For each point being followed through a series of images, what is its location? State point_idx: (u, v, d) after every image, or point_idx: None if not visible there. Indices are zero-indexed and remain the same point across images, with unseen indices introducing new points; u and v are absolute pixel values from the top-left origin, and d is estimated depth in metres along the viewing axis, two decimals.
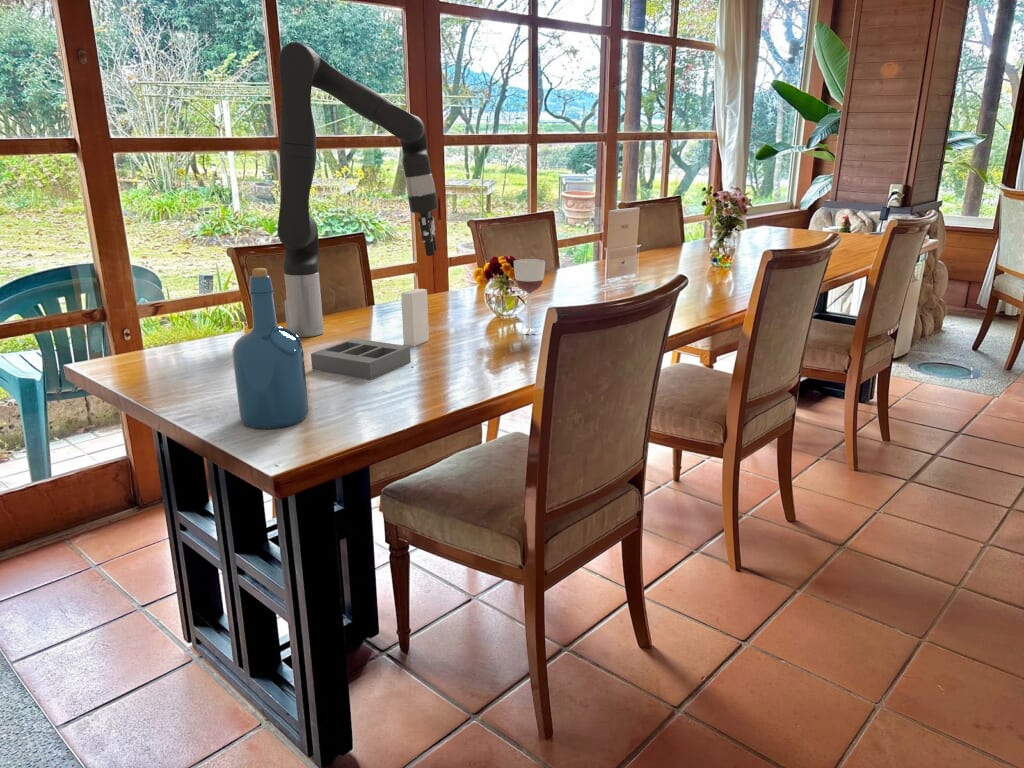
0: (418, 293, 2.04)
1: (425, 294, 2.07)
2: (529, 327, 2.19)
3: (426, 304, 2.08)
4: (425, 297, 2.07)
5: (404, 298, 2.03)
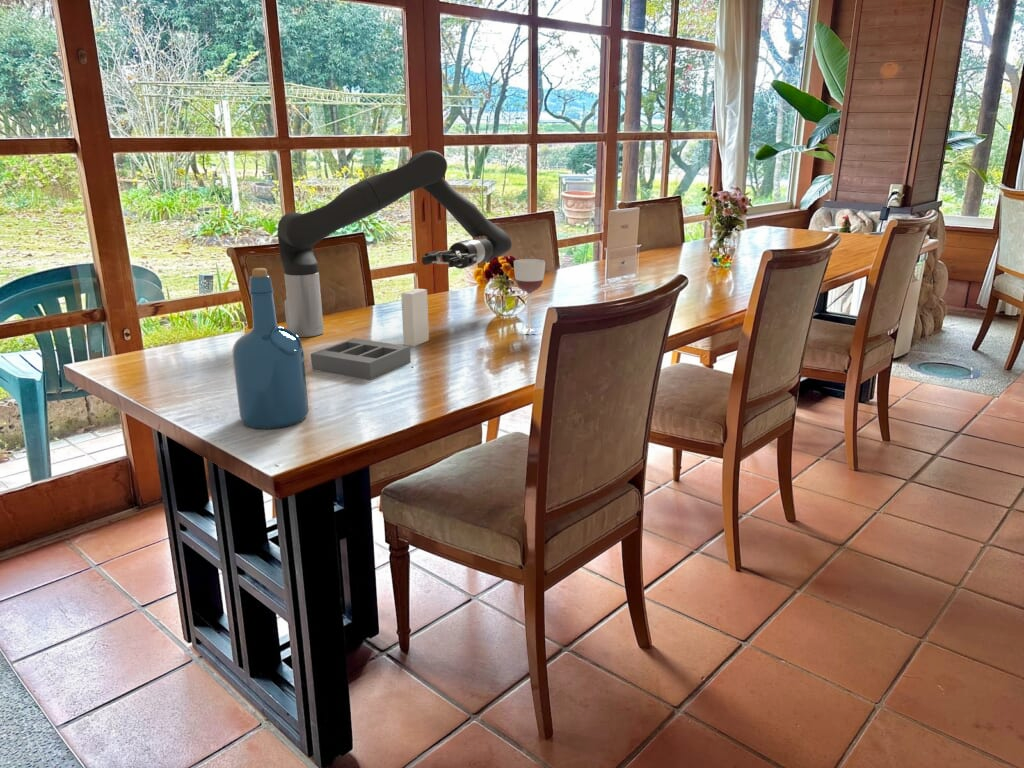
0: (418, 293, 2.04)
1: (425, 294, 2.07)
2: (529, 327, 2.19)
3: (426, 304, 2.08)
4: (425, 297, 2.07)
5: (404, 298, 2.03)
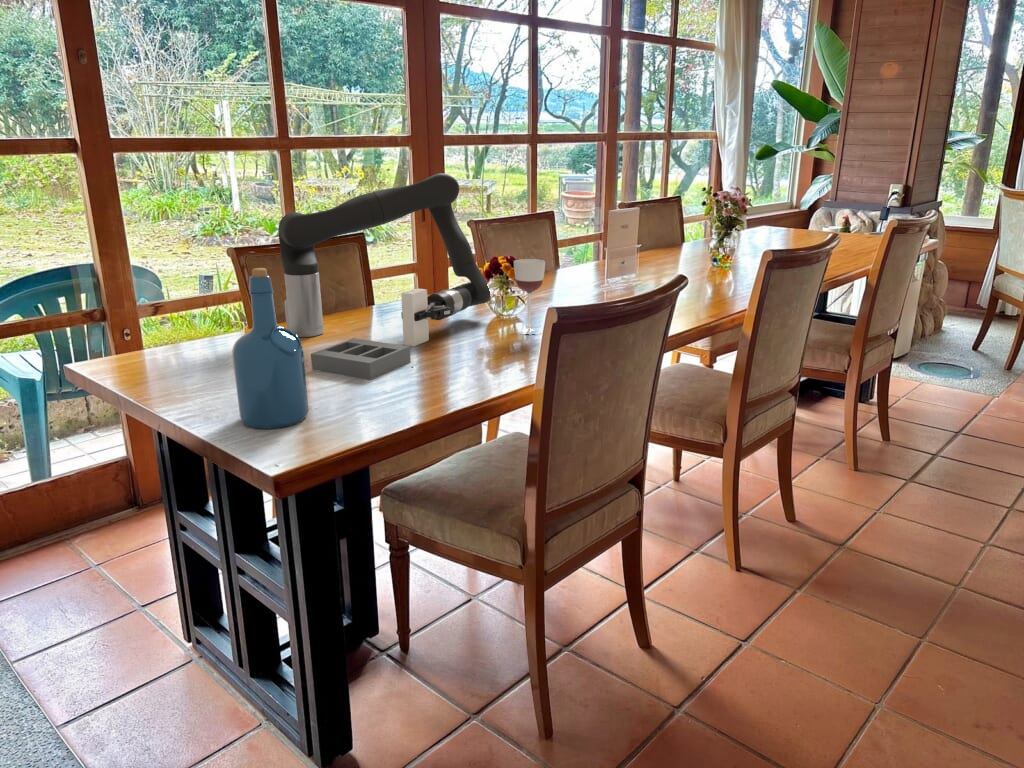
0: (418, 293, 2.04)
1: (425, 294, 2.07)
2: (529, 327, 2.19)
3: (426, 304, 2.08)
4: (425, 297, 2.07)
5: (404, 298, 2.03)
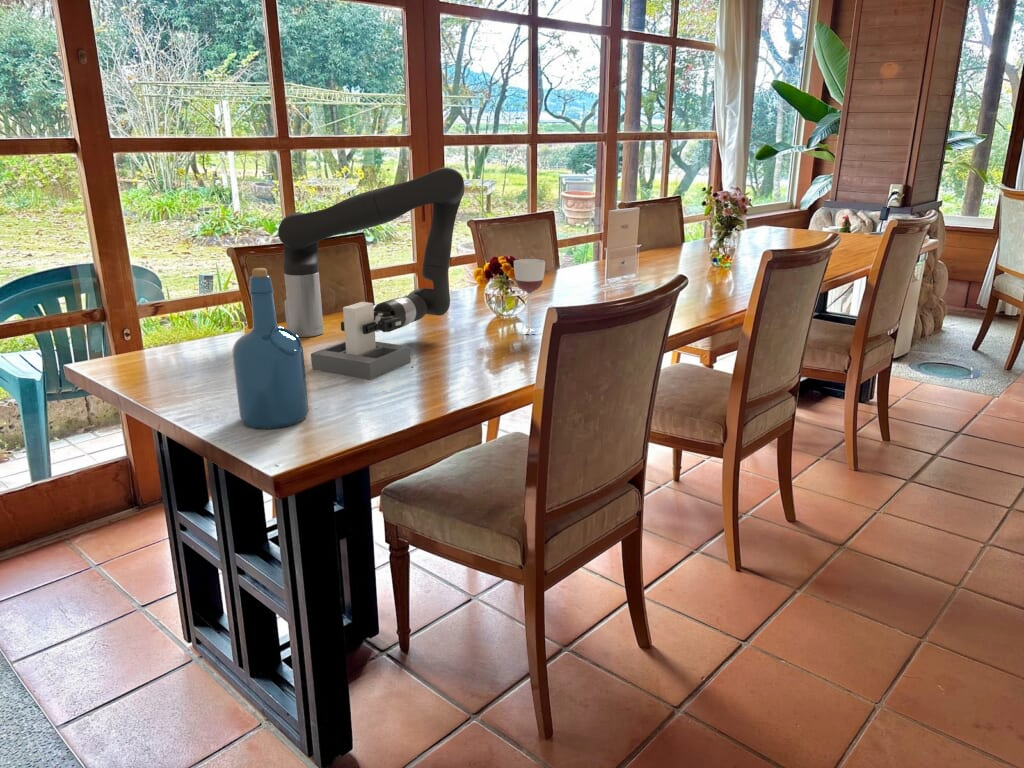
0: (362, 307, 1.83)
1: (371, 308, 1.86)
2: (529, 327, 2.19)
3: (372, 319, 1.87)
4: (371, 311, 1.86)
5: (346, 313, 1.82)
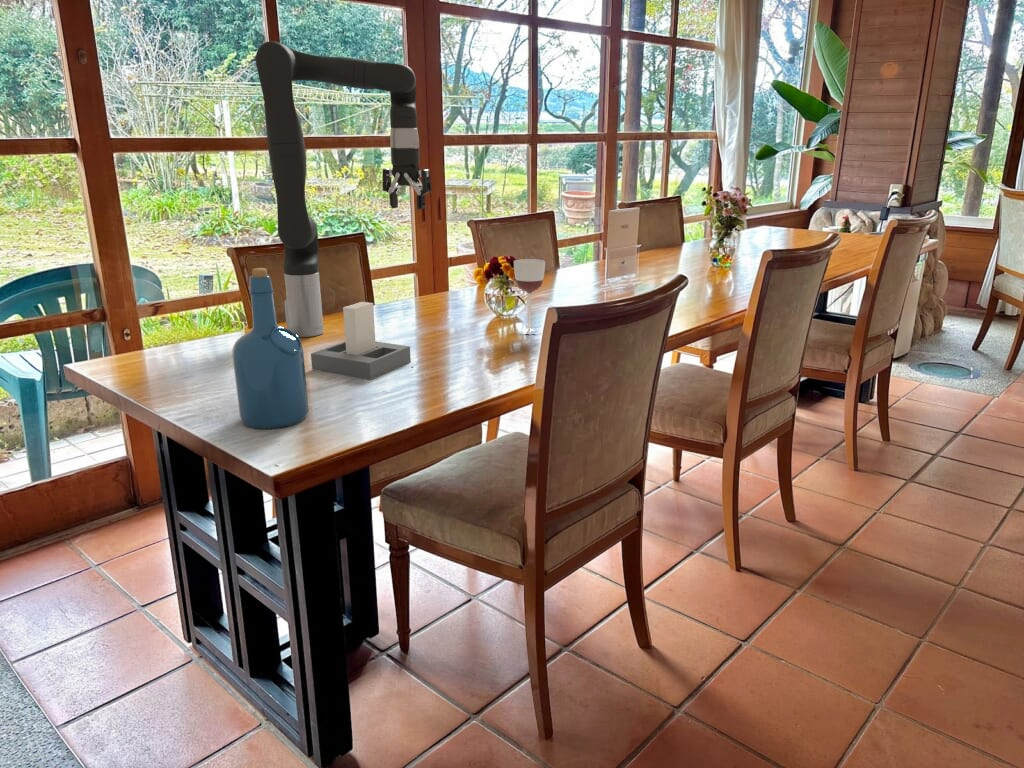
0: (362, 307, 1.83)
1: (371, 308, 1.86)
2: (529, 327, 2.19)
3: (372, 319, 1.87)
4: (371, 311, 1.86)
5: (346, 313, 1.82)
